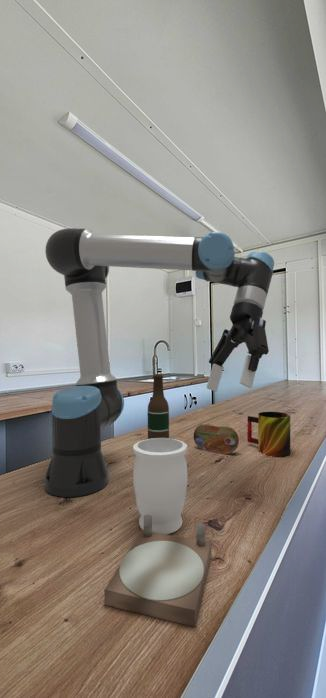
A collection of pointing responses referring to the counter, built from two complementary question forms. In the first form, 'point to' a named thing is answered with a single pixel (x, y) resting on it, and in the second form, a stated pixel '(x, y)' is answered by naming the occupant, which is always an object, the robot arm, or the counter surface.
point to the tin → (216, 438)
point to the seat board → (162, 576)
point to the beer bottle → (158, 411)
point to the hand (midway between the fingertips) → (227, 388)
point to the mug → (271, 433)
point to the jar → (160, 482)
